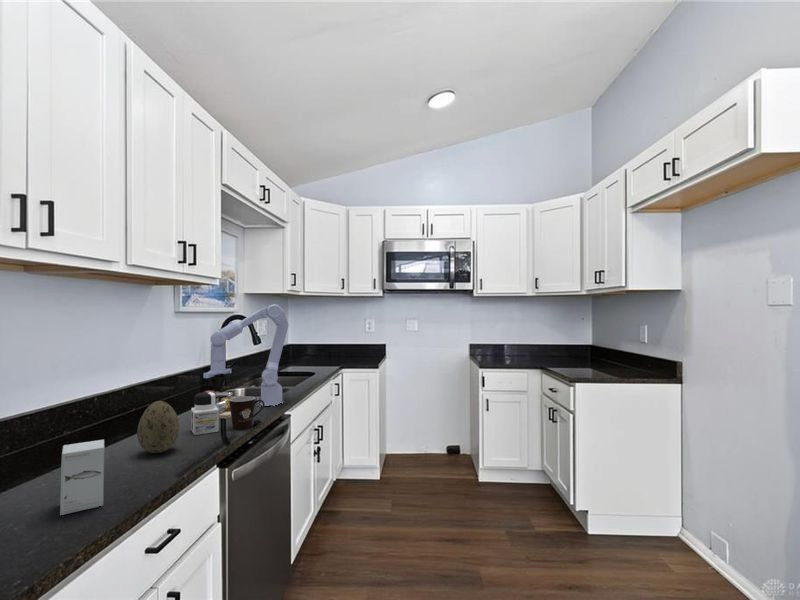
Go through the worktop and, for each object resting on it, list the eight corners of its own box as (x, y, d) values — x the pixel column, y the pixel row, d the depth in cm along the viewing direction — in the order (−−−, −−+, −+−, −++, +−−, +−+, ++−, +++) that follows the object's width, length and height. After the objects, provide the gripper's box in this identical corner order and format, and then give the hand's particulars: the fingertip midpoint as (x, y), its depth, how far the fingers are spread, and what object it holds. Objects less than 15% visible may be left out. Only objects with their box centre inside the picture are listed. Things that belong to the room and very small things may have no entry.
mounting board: (226, 407, 180) (226, 404, 180) (252, 409, 176) (252, 406, 176) (198, 416, 164) (198, 413, 164) (226, 418, 161) (226, 415, 161)
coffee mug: (227, 431, 144) (227, 402, 144) (230, 425, 152) (230, 397, 152) (263, 428, 147) (263, 400, 147) (264, 422, 155) (264, 395, 155)
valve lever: (233, 395, 171) (233, 392, 171) (230, 396, 169) (230, 393, 169) (208, 393, 175) (208, 390, 175) (204, 394, 173) (204, 391, 173)
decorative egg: (138, 461, 115) (139, 406, 116) (135, 451, 124) (136, 400, 124) (182, 453, 122) (182, 401, 122) (176, 444, 130) (176, 395, 131)
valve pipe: (236, 405, 178) (236, 392, 178) (245, 406, 177) (245, 393, 177) (211, 414, 163) (211, 400, 164) (220, 414, 162) (220, 400, 162)
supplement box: (59, 517, 85) (60, 453, 85) (61, 503, 91) (62, 444, 91) (104, 506, 89) (104, 446, 89) (103, 494, 95) (104, 438, 95)
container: (194, 435, 139) (194, 396, 140) (190, 430, 146) (191, 392, 146) (219, 431, 144) (219, 393, 144) (214, 426, 150) (215, 390, 150)
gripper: (222, 358, 185) (221, 389, 184) (197, 362, 171) (197, 395, 170) (235, 358, 183) (235, 390, 182) (211, 362, 169) (211, 396, 168)
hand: (217, 392), depth 176 cm, fingers closed
